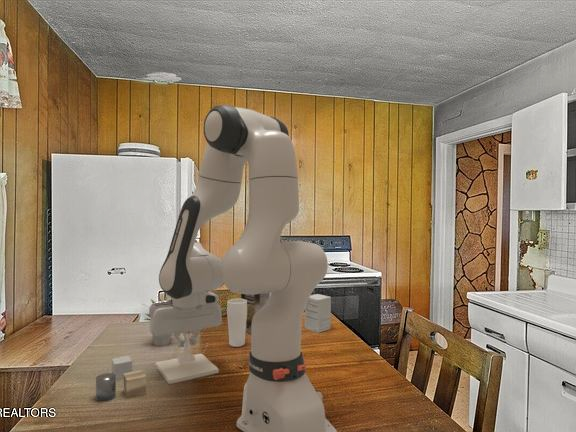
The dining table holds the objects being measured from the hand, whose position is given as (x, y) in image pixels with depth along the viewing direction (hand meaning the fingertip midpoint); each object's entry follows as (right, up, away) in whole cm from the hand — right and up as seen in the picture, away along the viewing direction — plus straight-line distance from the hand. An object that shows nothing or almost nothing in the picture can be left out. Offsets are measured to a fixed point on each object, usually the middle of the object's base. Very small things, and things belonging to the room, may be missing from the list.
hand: (186, 345), depth 113 cm
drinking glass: (+12, -7, +21) cm, 25 cm away
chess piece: (0, -5, 0) cm, 5 cm away
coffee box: (+17, -6, +36) cm, 40 cm away
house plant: (-13, -6, +22) cm, 26 cm away
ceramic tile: (0, -7, 0) cm, 7 cm away
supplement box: (+41, -7, +39) cm, 56 cm away
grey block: (-17, -7, -4) cm, 19 cm away
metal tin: (-15, -7, -17) cm, 24 cm away
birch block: (-9, -7, -14) cm, 18 cm away
